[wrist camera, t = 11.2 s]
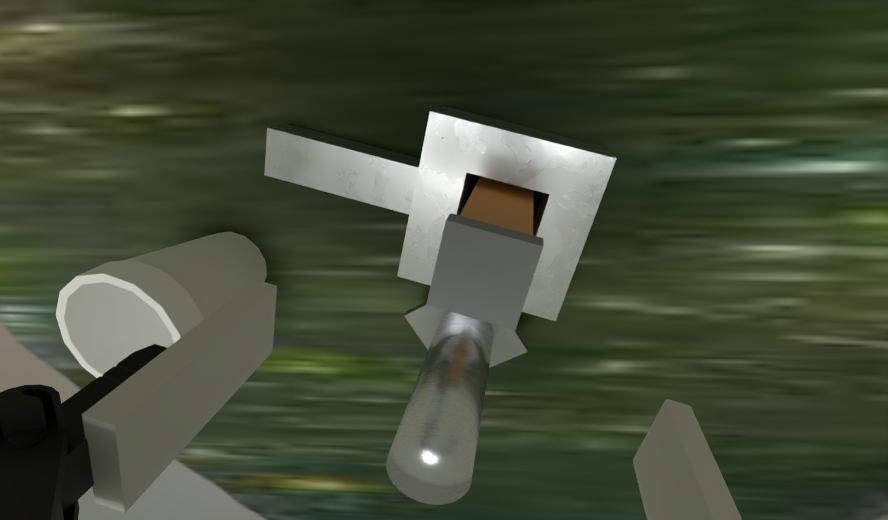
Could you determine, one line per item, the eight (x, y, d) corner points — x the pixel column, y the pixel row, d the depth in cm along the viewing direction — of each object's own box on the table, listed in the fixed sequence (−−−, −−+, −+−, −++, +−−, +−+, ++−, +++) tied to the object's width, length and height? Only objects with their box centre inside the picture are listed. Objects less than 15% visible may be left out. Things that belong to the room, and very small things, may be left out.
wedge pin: (478, 165, 35) (446, 219, 22) (540, 181, 35) (543, 246, 22) (464, 223, 37) (426, 304, 24) (522, 239, 37) (515, 330, 24)
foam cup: (289, 235, 40) (188, 303, 29) (276, 321, 44) (182, 413, 32) (190, 201, 41) (50, 254, 29) (185, 289, 45) (60, 368, 33)
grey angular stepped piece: (291, 67, 35) (76, 64, 19) (605, 146, 33) (673, 220, 17) (273, 298, 43) (114, 437, 27) (523, 372, 41) (516, 570, 25)
